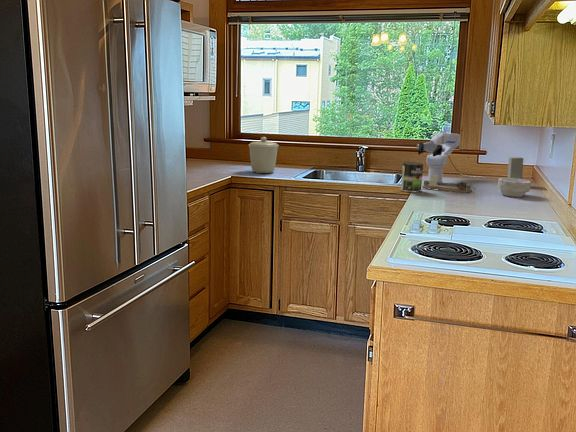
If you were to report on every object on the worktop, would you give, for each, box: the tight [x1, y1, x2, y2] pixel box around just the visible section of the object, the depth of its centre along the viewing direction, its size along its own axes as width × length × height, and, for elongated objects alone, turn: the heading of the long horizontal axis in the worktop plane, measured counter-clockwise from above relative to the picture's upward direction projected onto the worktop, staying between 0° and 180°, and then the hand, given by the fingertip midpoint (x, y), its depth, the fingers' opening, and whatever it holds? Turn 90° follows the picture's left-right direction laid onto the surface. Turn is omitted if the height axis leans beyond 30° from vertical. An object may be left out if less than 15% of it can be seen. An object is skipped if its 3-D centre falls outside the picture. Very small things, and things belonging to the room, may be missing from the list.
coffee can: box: [400, 161, 424, 193], centre depth 280 cm, size 10×10×14 cm
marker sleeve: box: [428, 175, 439, 187], centre depth 290 cm, size 4×4×6 cm
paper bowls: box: [497, 177, 532, 198], centre depth 276 cm, size 15×15×8 cm
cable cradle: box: [421, 179, 473, 194], centre depth 287 cm, size 10×24×5 cm, turn 62°
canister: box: [247, 136, 280, 174], centre depth 325 cm, size 18×18×21 cm
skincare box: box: [507, 156, 524, 179], centre depth 304 cm, size 8×7×16 cm
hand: (426, 153), depth 285 cm, fingers open, 7 cm apart
